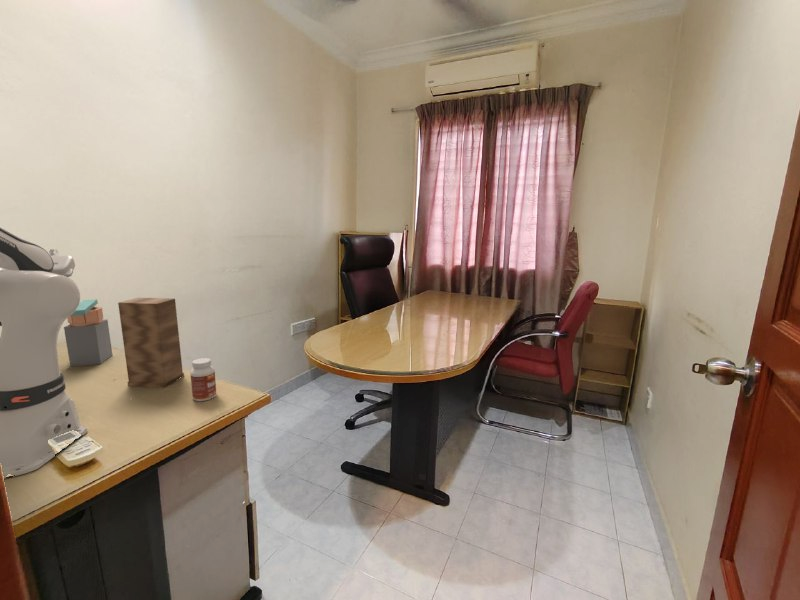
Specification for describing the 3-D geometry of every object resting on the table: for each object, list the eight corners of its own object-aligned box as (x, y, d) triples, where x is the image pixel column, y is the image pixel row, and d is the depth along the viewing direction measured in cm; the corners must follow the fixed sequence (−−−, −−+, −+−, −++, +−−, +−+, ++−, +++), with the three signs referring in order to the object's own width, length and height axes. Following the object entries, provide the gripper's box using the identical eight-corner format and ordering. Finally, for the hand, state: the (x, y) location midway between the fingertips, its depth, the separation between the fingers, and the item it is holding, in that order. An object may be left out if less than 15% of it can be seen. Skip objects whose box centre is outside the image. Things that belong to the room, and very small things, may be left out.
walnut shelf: (127, 385, 114) (116, 302, 109) (149, 374, 123) (139, 297, 118) (165, 387, 113) (155, 304, 108) (184, 375, 122) (176, 298, 117)
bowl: (95, 325, 128) (93, 311, 127) (63, 327, 126) (61, 312, 125) (107, 319, 137) (105, 306, 136) (78, 320, 134) (76, 307, 133)
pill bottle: (212, 401, 105) (209, 364, 103) (189, 402, 104) (185, 365, 102) (219, 391, 111) (216, 356, 109) (197, 392, 110) (194, 357, 108)
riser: (100, 364, 131) (95, 325, 128) (70, 366, 129) (63, 327, 126) (112, 355, 140) (107, 319, 137) (84, 357, 137) (78, 320, 134)
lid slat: (85, 314, 123) (84, 309, 123) (69, 315, 121) (68, 311, 121) (97, 303, 140) (97, 299, 140) (84, 304, 138) (83, 300, 138)
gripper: (67, 269, 104) (75, 242, 113) (-37, 272, 95) (-19, 242, 104) (73, 286, 108) (81, 259, 117) (-26, 291, 98) (-10, 261, 107)
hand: (33, 251), depth 110 cm, fingers open, 8 cm apart
